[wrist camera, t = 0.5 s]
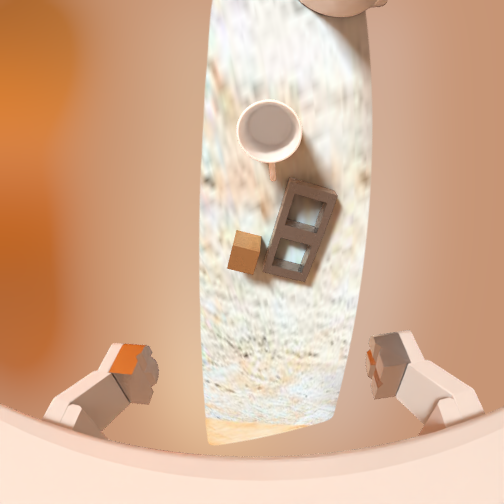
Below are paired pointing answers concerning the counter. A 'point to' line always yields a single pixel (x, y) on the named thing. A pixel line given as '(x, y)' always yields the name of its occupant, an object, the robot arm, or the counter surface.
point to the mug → (269, 132)
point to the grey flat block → (299, 230)
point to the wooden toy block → (244, 252)
